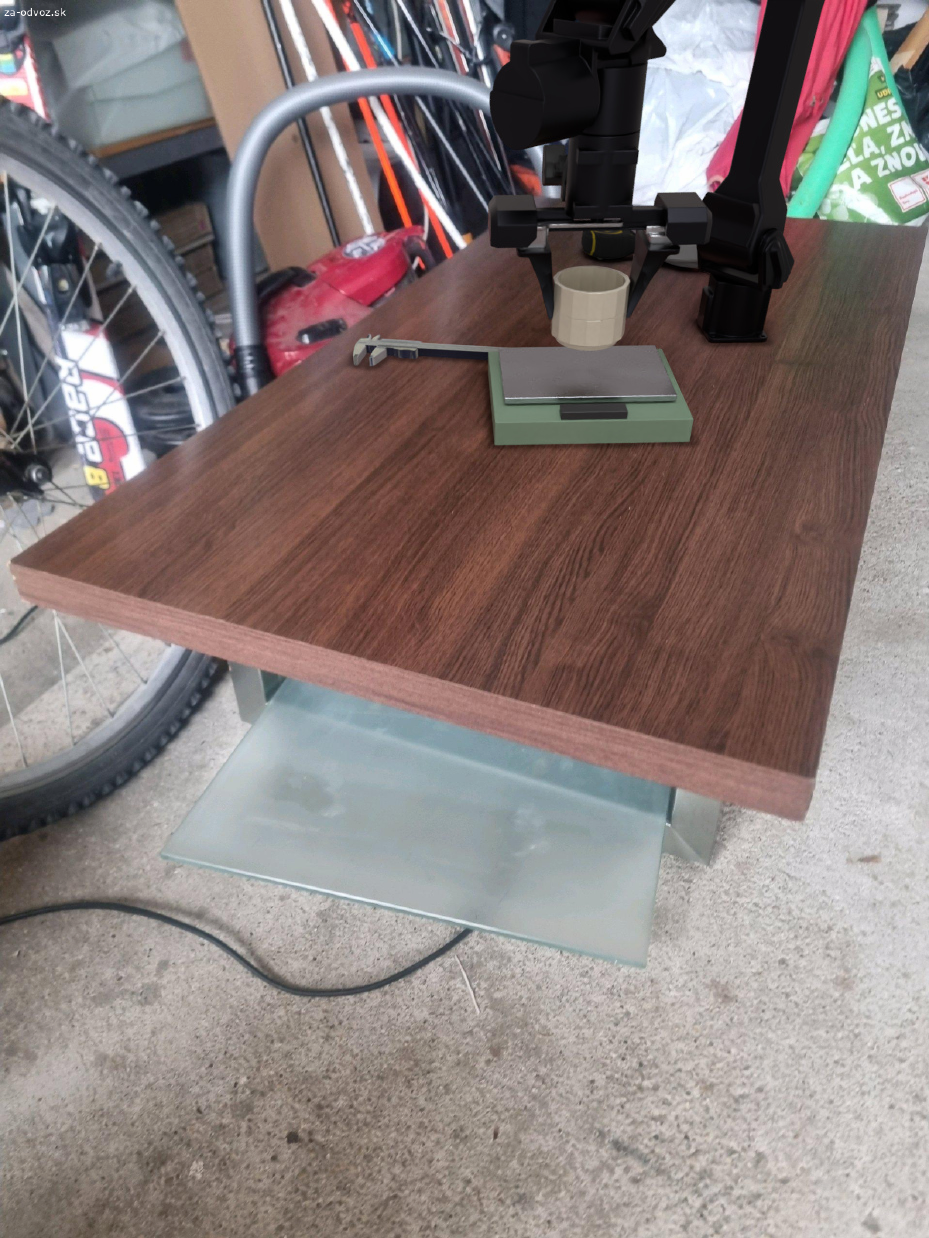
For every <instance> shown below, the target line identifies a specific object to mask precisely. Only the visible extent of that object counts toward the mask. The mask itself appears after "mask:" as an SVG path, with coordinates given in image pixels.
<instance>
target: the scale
mask: <svg viewBox="0 0 929 1238" xmlns="http://www.w3.org/2000/svg"><path fill="white" fill-rule="evenodd" d="M657 351H658V353H659V355H660V357H661V360H662V362H663V364H664V367H665V369H666V371H667V373H668V376H669V378H670V380H671V383H672V385H673V387H674V389H675V392H676V394H677V400H676V401H640V402H582V403H523V404H504V397H503V388H502V379H501V371H500V362H499V353H498V352H488V360H487V376H488V387H489V388H488V390H489V398H490V399H489V400H490V410H491V422H492V431H493V442H494V443H493V444H494V446H518V445H519V446H523V445H524V446H525V445H526V446H527V445H531V446H532V445H581V444H584V445H586V444H587V445H588V444H636V443H637V444H639V443H641V444H642V443H643V444H644V443H645V444H646V443H689V442H690V441H691V435H692V430H693V424H694V417H693V415H692V412H691V411H690V408H689V406H688V404H687V401H686V399H685V397H684V394H683V393H682V391H681V389H680V386H679V384H678V381H677V380H676V377H675V375H674V372H673V370H672V368H671V366H670V364H669V362H668V360H667V359H668V358H667V357H666V355H665V353H664V350H663V349H662V348H657Z"/></svg>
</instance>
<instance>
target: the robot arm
mask: <svg viewBox="0 0 929 1238" xmlns="http://www.w3.org/2000/svg"><path fill="white" fill-rule="evenodd" d="M676 1H677V0H549V3H548V5H547V7H546V9H545V12H544V14H543V16H542V18H541V20H540V23H539V25H538V27H537V30H536V31H535V34H534V40H529V39H517V40H512V41H511V42H510V45H509V61H507V62H506V63H504V64H503V65H502V66H501V67H500V69H499V70H498V71H497V73H496V76H495V78H494V81H493V85H492V89H491V90H490V91H489V100H488V103H489V114H490V119H491V122H492V125H493V128H494V130H495V132H496V134H497V136H498V138H499V139H500V141H501V142H502V143H503V144H504V145H505V146H506V147H508V148H509V149H511V150H513V151H524V150H527V149H533V148H536V147H540V146H542V157H541V158H542V160H541V186H543V187H558V186H559V187H560V200H561V202H562V203H564V206H549V207H547V206H546V207H545V206H544V207H537V205H536V201H535V197H534V194H499V195H498V194H497V195H493V197H492V198H491V199H490V200H489V202H488V204H487V205H488V206H487V229H488V230H487V231H488V239H489V246H490V247H492V248H495V249H515V251H516V252H515V253H516V256H517V257H519V258H523V259H524V258H525V259H528V260H529V262H530V264H531V267H532V269H533V271H534V274H535V276H536V278H537V282H538V283H539V288H540V291H541V296H542V299H543V304H544V307H545V311H546V314H547V315H546V316H547V319H548V320H551V319H553V312H554V293H553V278H554V274H553V256H552V248H551V245H550V241H549V233H550V232H553V233H555V232H556V233H557V232H583V231H613V230H632V231H635V233H636V237H635V251H634V254H633V257H632V262H631V267H630V271H629V276H628V278H629V280H630V288H629V296H628V305H627V313H626V319H630V318H631V317H632V314H633V313H634V310H635V309H636V307H637V306H638V304H639V302H640V300H641V299H642V297H643V295H644V293H645V292H646V290H647V288H648V287H649V285H650V283H651V282H652V280H653V278H654V277H655V276H656V274H657V273H658V272H659V270H660V269H661V267H662V266H663V264H664V263H666V262H665V260H666V259H667V257H668V256H670V255H677V254H679V253H680V246H679V245H696V248H697V260H698V268H697V271H698V272H700V273H707V274H709V277H708V282H707V283H708V284H707V285H704V286H703V287H702V289H701V296H700V301H699V307H698V308H699V309H698V313H697V319H696V323H697V324H698V326H699V327H700V329H701V331H702V333H703V334H704V336H705V339H707V341H708V342H709V343H759V342H760V343H761V342H762V343H763V342H767V341H768V335H767V334H766V332H765V330H764V328H765V324H766V319H767V316H768V310H769V306H770V302H771V299H772V298H771V297H772V293H773V290H780V289H782V288H783V285H784V283H786V282H788V280H789V277H790V275H791V273H792V270H793V268H794V265H795V259H794V256H793V254H792V252H791V249H790V246H789V244H788V241H787V240H786V238H785V235H784V234H785V227H786V221H787V216H788V206H787V201H786V197H785V194H784V190H783V187H782V182H781V173H782V168H783V164H784V161H785V159H786V158H785V157H786V153H787V149H788V145H789V141H790V138H791V133H792V130H793V126H794V122H795V118H796V114H797V110H798V107H799V102H800V98H801V96H802V95H801V94H802V91H803V86H804V83H805V79H806V74H807V71H808V68H809V67H808V66H809V63H810V60H811V55H812V51H813V47H814V43H815V40H816V36H817V31H818V28H819V24H820V20H821V17H822V11H823V8H824V5H825V3H826V0H766V3H765V9H764V13H763V17H762V22H761V26H760V30H759V36H758V40H757V45H756V49H755V53H754V58H753V62H752V68H751V72H750V76H749V80H748V85H747V91H746V93H745V94H746V95H745V99H744V104H743V107H742V112H741V117H740V121H739V126H738V131H737V134H736V139H735V140H736V141H735V144H734V149H733V153H732V158H731V162H730V165H729V166H730V167H729V170H728V173H727V174H726V177H724V179H723V180H722V181H721V182H720V183H719V185H717V187H716V189H714V190H713V191H707V192H705V194H704V196H703V198H701V196H700V195H699V194H698V193H697V192H696V191H673V192H672V191H666V192H665V191H664V192H657V193H656V195H655V197H654V200H653V205H634V204H633V202H634V193H635V184H636V174H637V165H639V164H638V162H639V155H640V149H639V147H640V138H641V128H642V120H643V110H644V102H645V93H646V84H647V83H646V82H647V75H648V74H647V73H648V65H649V60H656V59H660V58H664V57H665V56H666V54H667V52H668V50H667V49H668V47H667V46H666V45H665V43H664V42H663V40H662V39H661V38H660V37H659V36H658V34H657V33H656V32H655V29H654V26H655V25H656V24H657V23H658V21H660V19H661V18H662V17H663V16H664V15H665V14H666V13H667V12H668V10H669V9H670V8H671V7H672V6H673V5H674V4H675V2H676ZM564 140H568V149H567V150H568V151H567V154H566V146H565V145H564V144H553V143H557V142H561V141H564Z"/></svg>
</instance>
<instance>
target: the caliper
mask: <svg viewBox="0 0 929 1238" xmlns="http://www.w3.org/2000/svg"><path fill="white" fill-rule="evenodd" d="M499 348H506V347H505V346H504V347H503V346H489V345H487V346H486V345H470V344H469V345H466V344H451V343H433V342H432V343H431V342H423V341H422V340H411V339H395V338H394V339H392V338H381V334H377V335H376V336H375V335H374V337H372V335H371V333H368V335H367V336H366V337H360V338H359V340H358V341H357V342H356V343H355V344H354V347H353V354H352V359H353V366H356V367H357V366H359V365H360V364H361V362H362V361H363V360H364V358H365V357H366V355H368V354H370V356H369V360H368V361H369V367H373V366H377V365H378V364H379V363H380V362H381V361H383V360H385V358H388V357H394V358H400V359H412V360H417V359H418V358H419V357H428V358H443V359H444V358H445V359H460V360H463V359H464V360H478V361H479V360H481V361H488V352H498V350H499Z"/></svg>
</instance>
